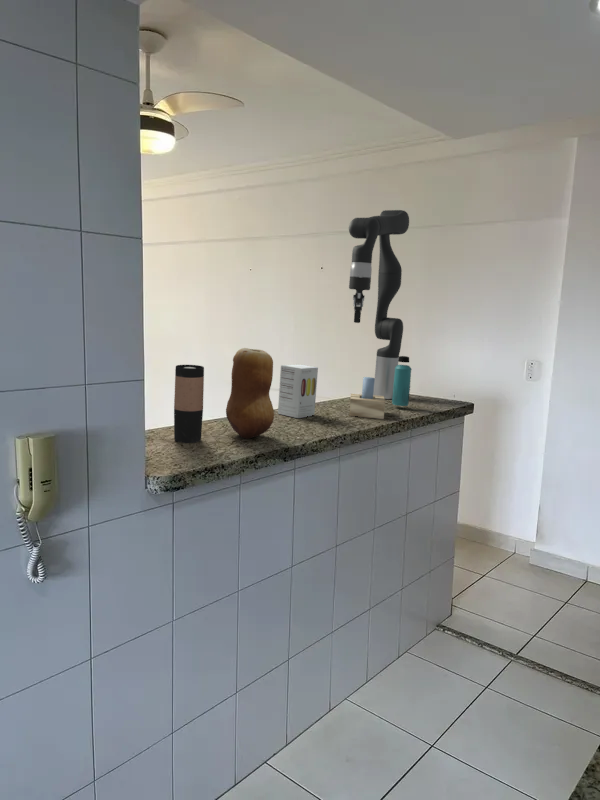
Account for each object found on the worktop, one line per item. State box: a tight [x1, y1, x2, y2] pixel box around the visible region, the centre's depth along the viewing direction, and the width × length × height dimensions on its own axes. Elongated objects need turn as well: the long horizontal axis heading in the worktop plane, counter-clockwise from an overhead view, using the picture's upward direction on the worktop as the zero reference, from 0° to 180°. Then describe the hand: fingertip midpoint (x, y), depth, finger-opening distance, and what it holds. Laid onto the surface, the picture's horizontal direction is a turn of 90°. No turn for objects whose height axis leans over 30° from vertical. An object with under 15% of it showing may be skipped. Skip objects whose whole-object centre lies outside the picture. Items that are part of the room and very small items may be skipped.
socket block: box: [348, 393, 386, 420], centre depth 211 cm, size 12×12×6 cm
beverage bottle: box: [391, 355, 412, 407], centre depth 225 cm, size 6×7×20 cm
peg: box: [361, 376, 375, 399], centre depth 210 cm, size 4×4×12 cm
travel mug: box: [173, 364, 205, 444], centre depth 159 cm, size 8×8×20 cm
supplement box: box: [277, 363, 319, 419], centre depth 201 cm, size 10×9×17 cm
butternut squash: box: [225, 347, 275, 440], centre depth 166 cm, size 14×13×25 cm
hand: (356, 322), depth 213 cm, fingers open, 8 cm apart
